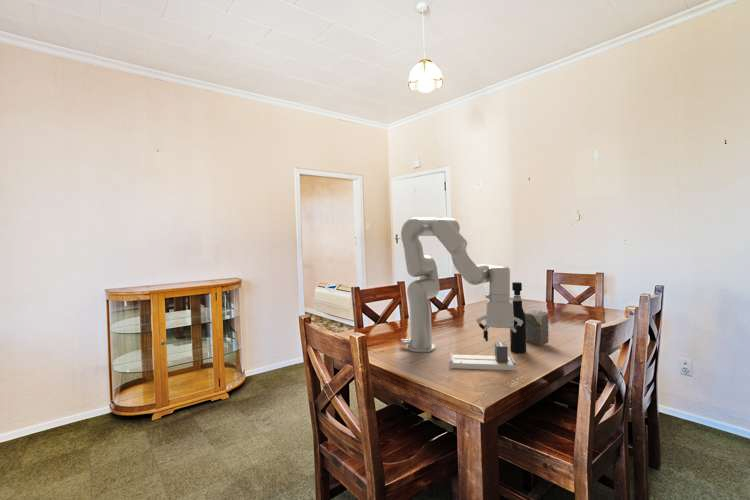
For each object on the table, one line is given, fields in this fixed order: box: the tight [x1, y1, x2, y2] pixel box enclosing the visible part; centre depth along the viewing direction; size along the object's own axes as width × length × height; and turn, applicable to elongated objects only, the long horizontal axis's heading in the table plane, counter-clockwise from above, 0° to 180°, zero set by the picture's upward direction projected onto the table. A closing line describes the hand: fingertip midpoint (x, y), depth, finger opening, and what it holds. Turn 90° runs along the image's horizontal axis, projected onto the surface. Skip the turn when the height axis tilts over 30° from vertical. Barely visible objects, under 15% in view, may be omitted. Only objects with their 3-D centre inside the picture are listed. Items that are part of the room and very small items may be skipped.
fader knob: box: [494, 341, 509, 362], centre depth 141 cm, size 4×6×6 cm, turn 168°
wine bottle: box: [509, 281, 527, 355], centre depth 156 cm, size 6×6×30 cm
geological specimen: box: [524, 309, 550, 346], centre depth 168 cm, size 11×6×15 cm, turn 25°
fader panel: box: [449, 352, 517, 371], centre depth 142 cm, size 24×10×3 cm, turn 78°
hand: (499, 341), depth 141 cm, fingers open, 9 cm apart
